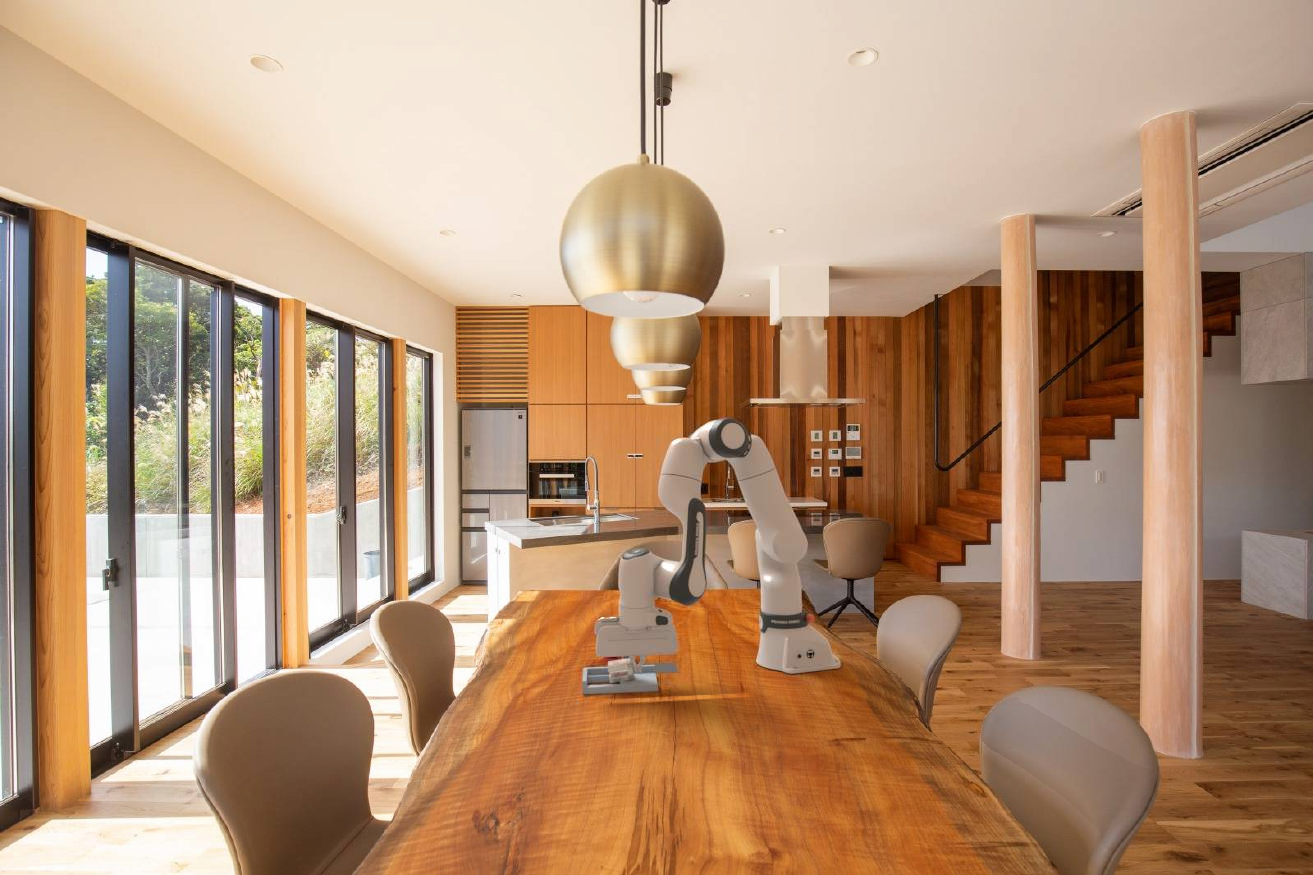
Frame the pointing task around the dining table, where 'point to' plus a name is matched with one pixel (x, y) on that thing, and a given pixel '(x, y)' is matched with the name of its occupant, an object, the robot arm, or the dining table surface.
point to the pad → (664, 667)
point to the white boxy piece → (623, 673)
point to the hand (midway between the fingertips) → (637, 673)
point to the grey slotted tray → (639, 684)
